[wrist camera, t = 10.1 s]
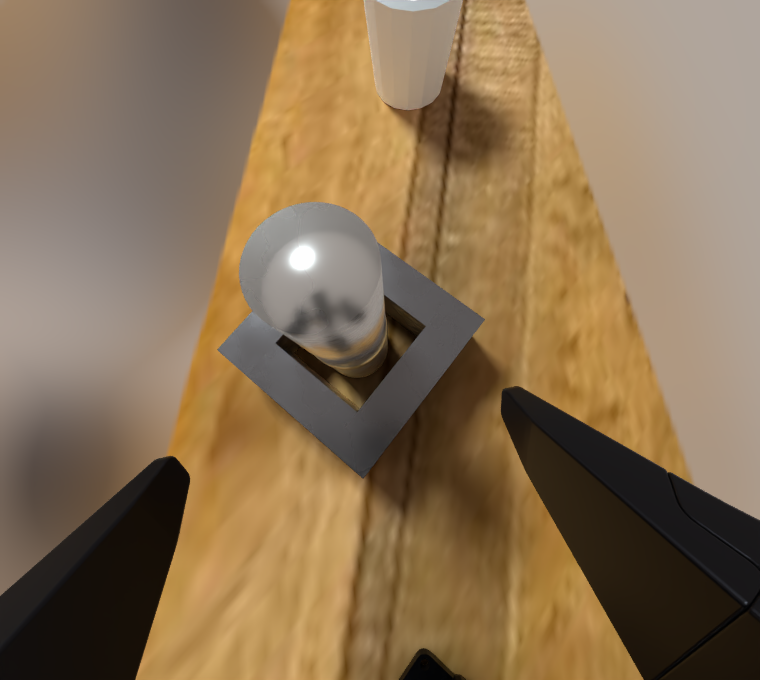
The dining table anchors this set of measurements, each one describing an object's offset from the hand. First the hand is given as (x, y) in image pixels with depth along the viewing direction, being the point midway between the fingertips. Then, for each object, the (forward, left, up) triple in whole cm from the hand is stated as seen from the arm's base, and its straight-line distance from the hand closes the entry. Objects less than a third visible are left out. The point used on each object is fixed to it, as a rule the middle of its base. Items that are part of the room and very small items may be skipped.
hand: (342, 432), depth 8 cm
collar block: (+3, +4, -12) cm, 13 cm away
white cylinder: (+23, +15, -12) cm, 30 cm away
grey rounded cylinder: (+3, +4, -12) cm, 13 cm away
